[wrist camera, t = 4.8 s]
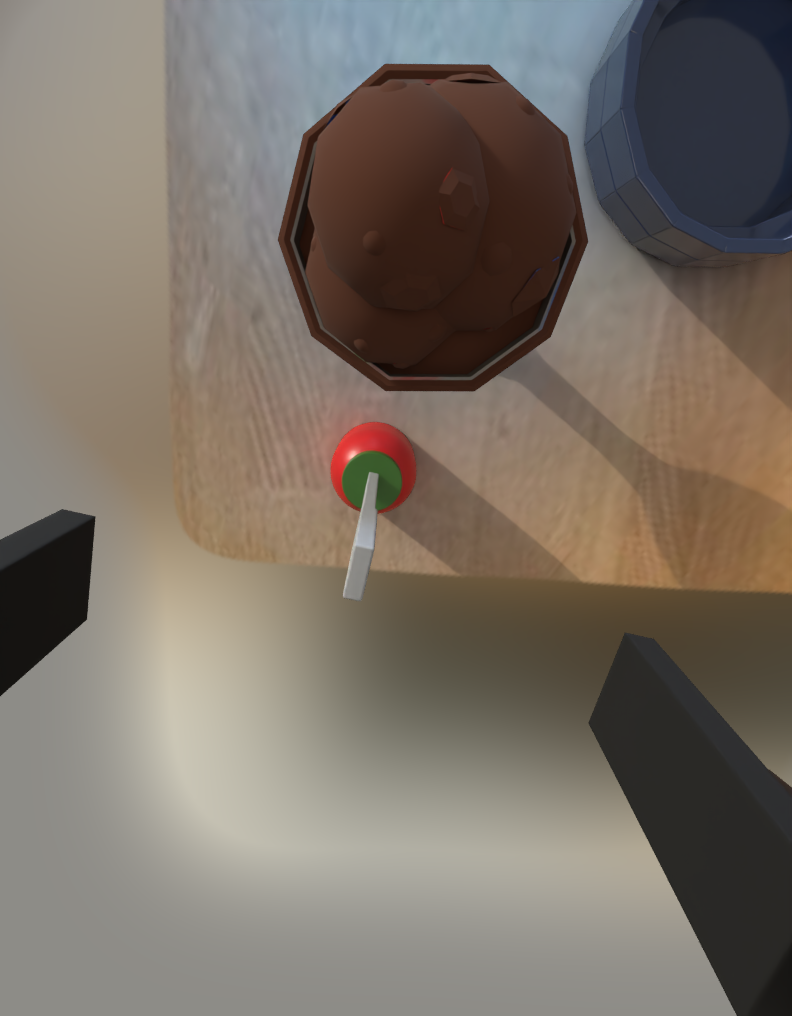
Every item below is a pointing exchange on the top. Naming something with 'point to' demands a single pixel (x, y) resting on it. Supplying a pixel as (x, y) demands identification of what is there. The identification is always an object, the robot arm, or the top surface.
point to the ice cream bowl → (433, 227)
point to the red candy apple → (371, 488)
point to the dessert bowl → (696, 129)
